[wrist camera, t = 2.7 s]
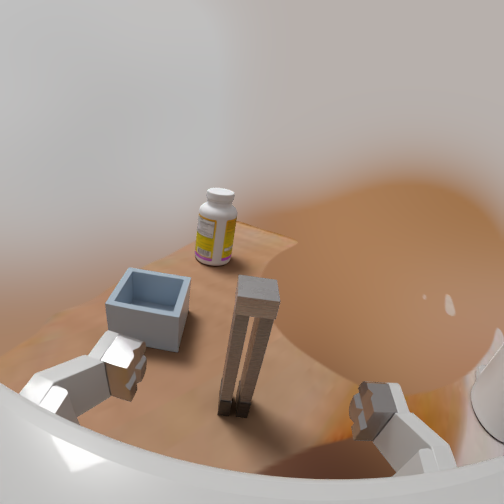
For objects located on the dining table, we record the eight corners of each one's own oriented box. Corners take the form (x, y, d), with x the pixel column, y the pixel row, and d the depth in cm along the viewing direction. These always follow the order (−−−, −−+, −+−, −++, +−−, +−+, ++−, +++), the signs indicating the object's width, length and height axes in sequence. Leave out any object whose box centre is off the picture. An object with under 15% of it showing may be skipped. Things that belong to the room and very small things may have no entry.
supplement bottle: (227, 251, 61) (237, 188, 56) (233, 268, 55) (244, 198, 50) (193, 249, 59) (200, 184, 54) (195, 266, 54) (203, 194, 48)
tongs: (247, 395, 30) (276, 279, 24) (247, 417, 28) (280, 301, 22) (218, 392, 30) (238, 274, 24) (217, 414, 27) (237, 296, 21)
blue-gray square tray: (188, 310, 42) (191, 277, 40) (177, 352, 34) (179, 317, 32) (130, 299, 41) (129, 267, 39) (109, 338, 34) (105, 303, 31)
